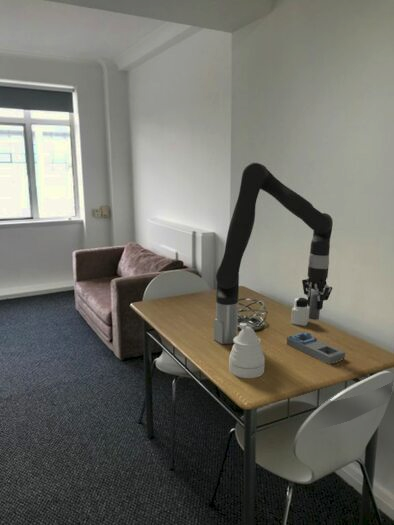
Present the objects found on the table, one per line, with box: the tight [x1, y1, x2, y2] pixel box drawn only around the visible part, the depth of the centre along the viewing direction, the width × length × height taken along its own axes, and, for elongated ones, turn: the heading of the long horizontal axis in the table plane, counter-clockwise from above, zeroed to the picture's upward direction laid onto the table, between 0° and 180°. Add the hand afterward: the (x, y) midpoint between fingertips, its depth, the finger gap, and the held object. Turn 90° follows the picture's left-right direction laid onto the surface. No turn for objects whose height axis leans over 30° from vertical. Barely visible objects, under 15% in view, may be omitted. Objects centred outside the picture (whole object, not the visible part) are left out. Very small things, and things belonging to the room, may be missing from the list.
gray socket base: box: [286, 331, 346, 365], centre depth 170 cm, size 23×9×5 cm, turn 32°
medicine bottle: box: [290, 297, 310, 327], centre depth 201 cm, size 7×7×12 cm
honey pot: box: [228, 322, 266, 379], centre depth 154 cm, size 13×13×18 cm
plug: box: [309, 289, 322, 321], centre depth 167 cm, size 4×4×12 cm
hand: (314, 307), depth 167 cm, fingers closed on plug, 4 cm apart
